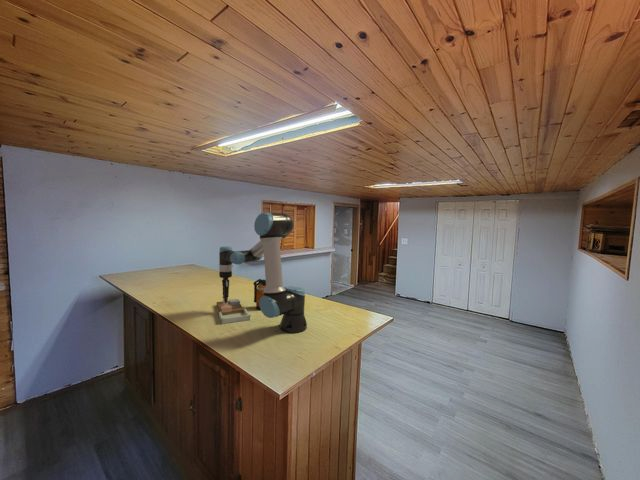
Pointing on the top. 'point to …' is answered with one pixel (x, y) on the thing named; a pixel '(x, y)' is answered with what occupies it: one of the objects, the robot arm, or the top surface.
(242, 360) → the top surface
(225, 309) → the tile
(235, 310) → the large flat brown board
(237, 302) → the tile
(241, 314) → the tray
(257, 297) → the canister
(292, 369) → the top surface
